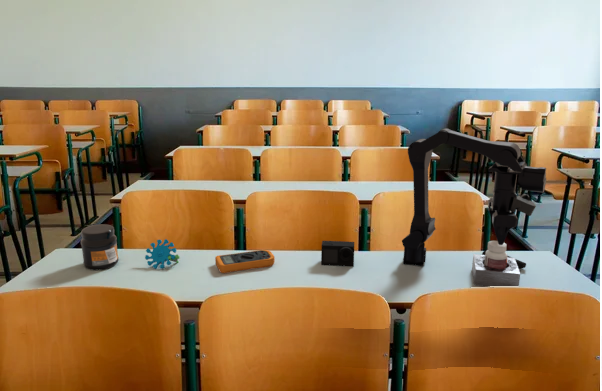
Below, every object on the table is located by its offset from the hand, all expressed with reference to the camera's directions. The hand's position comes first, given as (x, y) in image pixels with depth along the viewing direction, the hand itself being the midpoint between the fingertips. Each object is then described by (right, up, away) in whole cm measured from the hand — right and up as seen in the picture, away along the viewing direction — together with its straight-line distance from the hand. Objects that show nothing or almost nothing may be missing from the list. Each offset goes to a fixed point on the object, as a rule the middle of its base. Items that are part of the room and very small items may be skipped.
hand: (498, 239), depth 150 cm
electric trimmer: (+8, -9, +16) cm, 20 cm away
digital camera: (-46, -9, +14) cm, 49 cm away
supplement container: (-122, -9, +13) cm, 123 cm away
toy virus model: (-102, -10, +13) cm, 103 cm away
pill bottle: (0, -12, +4) cm, 13 cm away
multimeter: (-76, -10, +13) cm, 77 cm away
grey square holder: (0, -12, +4) cm, 13 cm away
